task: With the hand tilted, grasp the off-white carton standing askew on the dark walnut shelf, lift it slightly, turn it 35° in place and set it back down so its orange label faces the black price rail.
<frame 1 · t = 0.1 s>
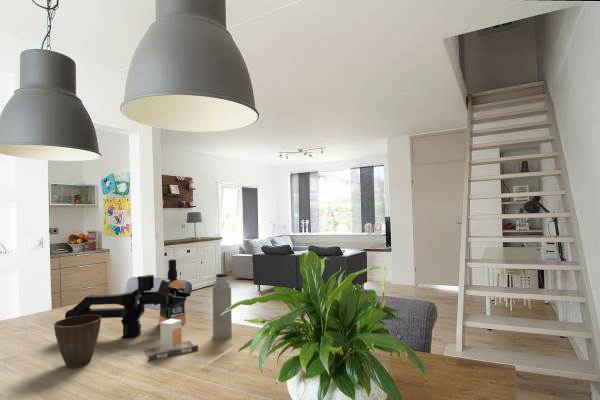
hand: (188, 296, 165), 17 cm above the table, tool horizontal, fingers open, 9 cm apart
plant pot: (78, 364, 131), on the table
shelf: (170, 352, 140), on the table
thermos bottle: (222, 338, 156), on the table
whiskey bottle: (172, 323, 179), on the table
carton: (171, 350, 140), point 1 cm above the table, touching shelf
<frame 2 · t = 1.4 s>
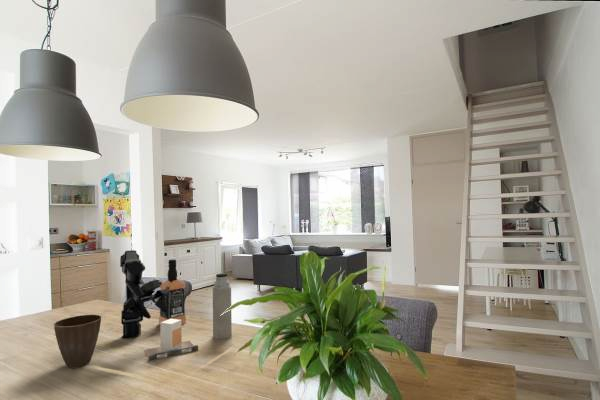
hand: (158, 315, 144), 14 cm above the table, tool tilted 45°, fingers open, 9 cm apart
nothing on the table moved.
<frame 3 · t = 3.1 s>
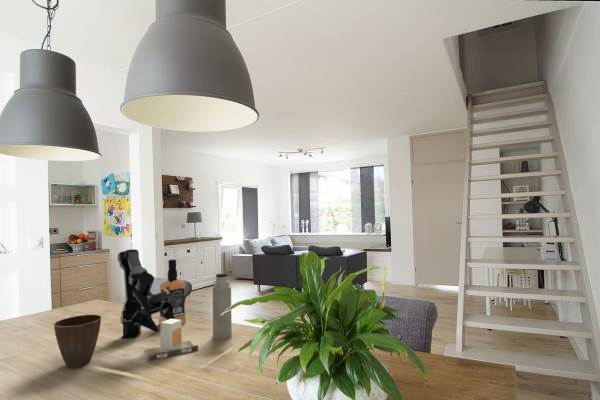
hand: (166, 327, 141), 10 cm above the table, tool tilted 45°, fingers open, 9 cm apart
nothing on the table moved.
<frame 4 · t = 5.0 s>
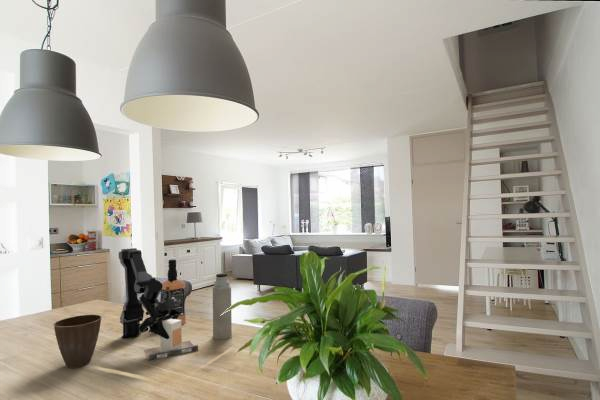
hand: (173, 336, 139), 7 cm above the table, tool tilted 45°, fingers closed on carton, 5 cm apart
carton: (171, 350, 140), point 1 cm above the table, touching gripper, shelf
everything else where it was.
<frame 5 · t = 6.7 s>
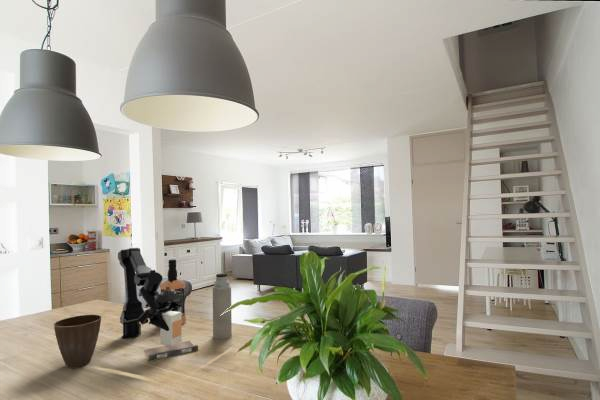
hand: (173, 328, 139), 10 cm above the table, tool tilted 45°, fingers closed on carton, 5 cm apart
carton: (171, 342, 140), point 4 cm above the table, touching gripper
everything else where it was.
when the fingers open (8 cm above the table, at t = 8.9 s): carton drops 1 cm, resting on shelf.
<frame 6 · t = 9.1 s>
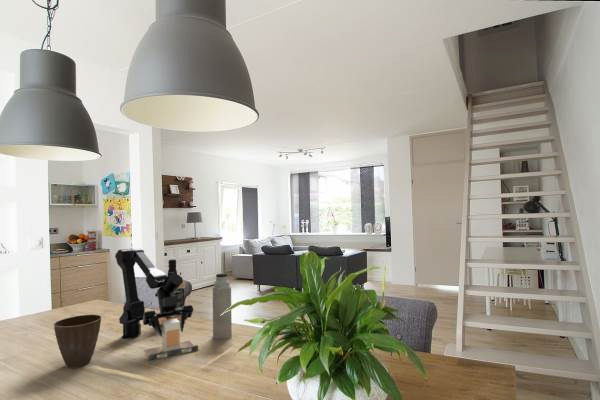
hand: (171, 333, 139), 8 cm above the table, tool tilted 45°, fingers open, 8 cm apart
carton: (171, 350, 140), point 1 cm above the table, touching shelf
everything else where it was.
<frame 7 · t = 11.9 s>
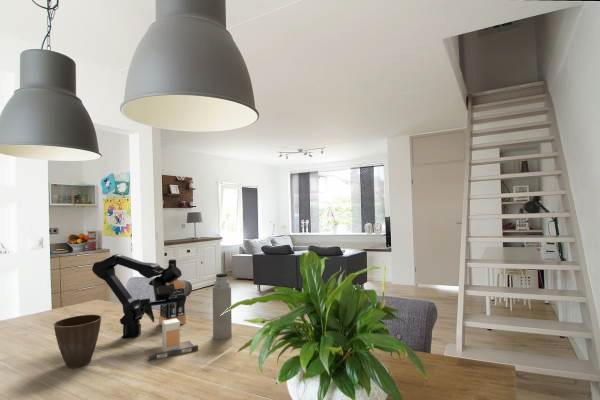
hand: (165, 319, 149), 11 cm above the table, tool tilted 45°, fingers open, 9 cm apart
nothing on the table moved.
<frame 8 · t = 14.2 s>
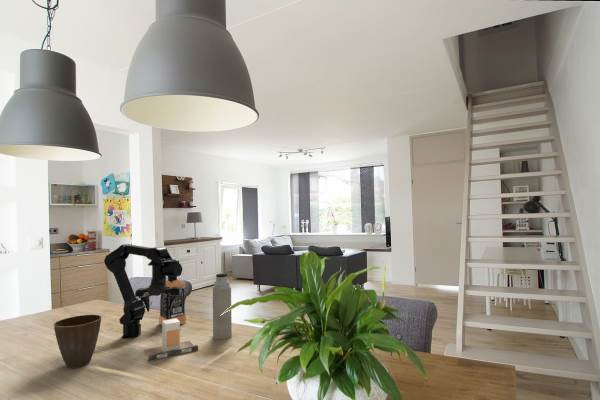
hand: (159, 311, 157), 12 cm above the table, tool pointing down, fingers open, 9 cm apart
nothing on the table moved.
at the end: carton 0.2 cm off-centre on the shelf, point 1.0 cm above the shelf's base; carton tilted 0°; the gripper is holding nothing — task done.
